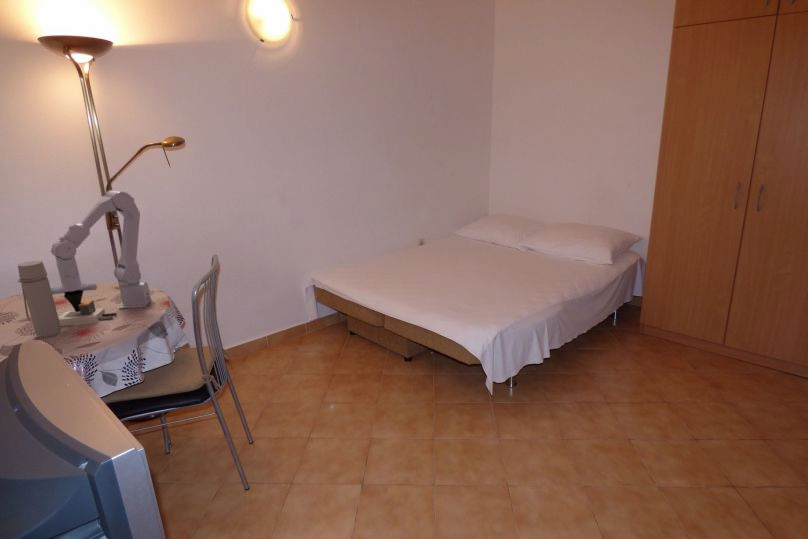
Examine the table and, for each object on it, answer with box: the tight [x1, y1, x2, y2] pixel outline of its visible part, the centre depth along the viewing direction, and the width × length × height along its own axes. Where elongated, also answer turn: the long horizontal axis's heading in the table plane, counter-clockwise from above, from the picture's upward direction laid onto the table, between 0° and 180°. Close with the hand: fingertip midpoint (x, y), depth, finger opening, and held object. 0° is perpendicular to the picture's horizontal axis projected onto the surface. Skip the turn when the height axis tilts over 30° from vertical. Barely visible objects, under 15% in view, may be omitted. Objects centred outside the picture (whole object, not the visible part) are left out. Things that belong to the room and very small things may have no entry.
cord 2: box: [102, 312, 117, 317], centre depth 178 cm, size 5×1×1 cm, turn 99°
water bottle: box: [17, 260, 62, 339], centre depth 161 cm, size 9×8×25 cm
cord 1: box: [98, 316, 114, 321], centre depth 175 cm, size 5×1×1 cm, turn 99°
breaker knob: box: [79, 299, 97, 315], centre depth 175 cm, size 3×4×4 cm, turn 9°
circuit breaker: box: [58, 308, 106, 327], centre depth 175 cm, size 13×8×3 cm, turn 99°
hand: (78, 310), depth 175 cm, fingers closed
